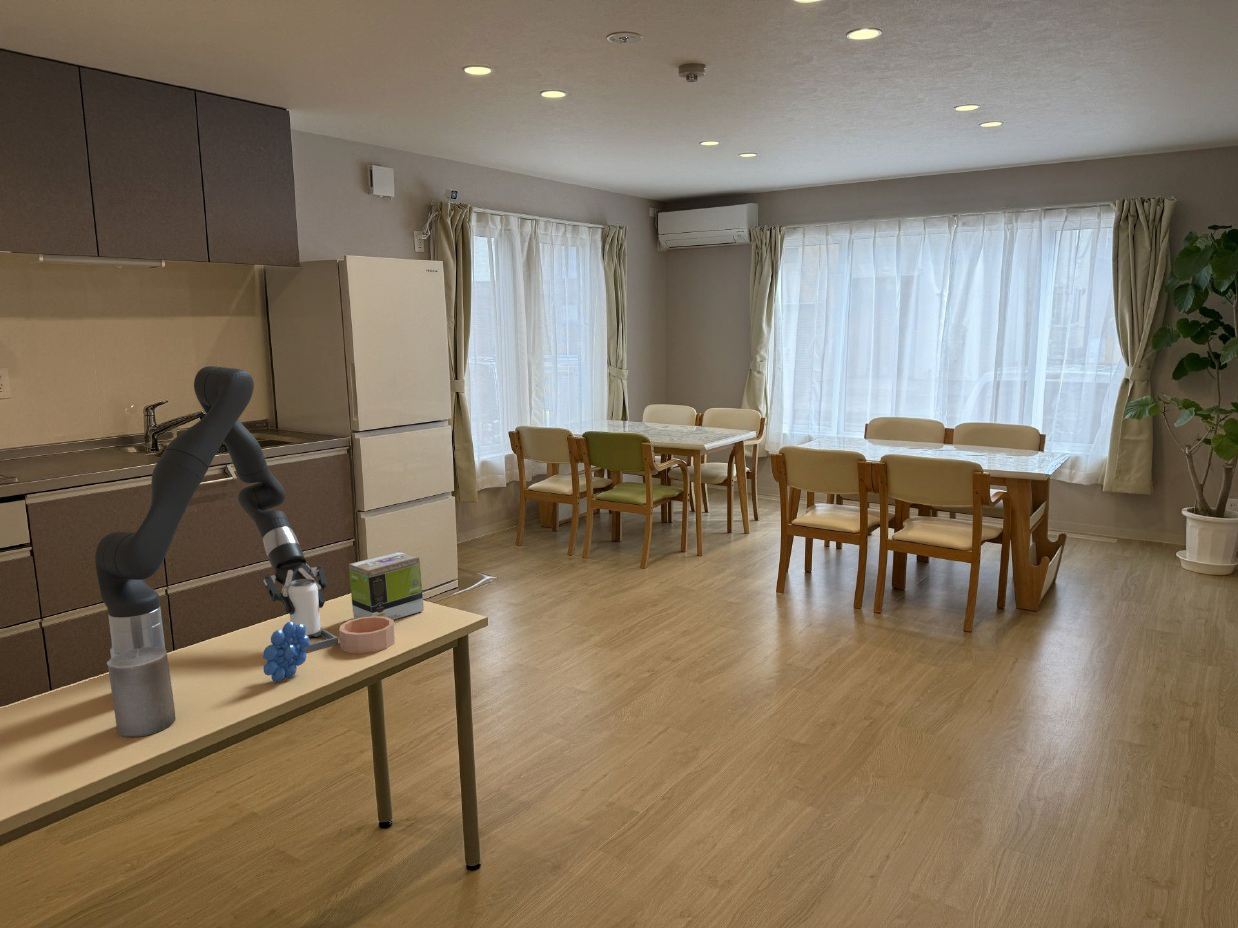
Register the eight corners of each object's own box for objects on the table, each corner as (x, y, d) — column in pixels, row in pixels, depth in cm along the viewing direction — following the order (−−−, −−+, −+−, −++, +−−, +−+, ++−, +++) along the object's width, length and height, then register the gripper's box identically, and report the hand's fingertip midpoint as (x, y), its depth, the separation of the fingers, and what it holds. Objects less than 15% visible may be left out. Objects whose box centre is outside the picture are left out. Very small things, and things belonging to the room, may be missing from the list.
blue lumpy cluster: (297, 664, 185) (292, 612, 183) (319, 669, 182) (314, 616, 180) (251, 684, 175) (246, 629, 173) (274, 690, 172) (269, 634, 170)
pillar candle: (167, 708, 164) (158, 635, 162) (182, 725, 157) (172, 649, 155) (111, 726, 158) (100, 650, 155) (124, 743, 151) (112, 664, 148)
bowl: (355, 657, 188) (354, 638, 188) (332, 643, 197) (331, 625, 196) (404, 643, 196) (402, 624, 196) (379, 630, 205) (378, 612, 204)
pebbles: (297, 654, 191) (296, 644, 191) (281, 643, 198) (281, 634, 197) (335, 643, 197) (334, 633, 197) (319, 633, 204) (318, 624, 203)
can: (301, 638, 192) (297, 588, 190) (285, 632, 196) (281, 583, 194) (326, 630, 197) (322, 581, 196) (310, 625, 201) (306, 576, 199)
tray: (296, 655, 190) (295, 648, 190) (279, 643, 198) (278, 637, 197) (338, 643, 197) (337, 637, 197) (320, 632, 204) (320, 626, 204)
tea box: (403, 603, 225) (400, 550, 223) (424, 611, 218) (421, 556, 216) (351, 618, 215) (347, 562, 212) (372, 627, 208) (368, 569, 205)
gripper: (256, 546, 194) (279, 607, 187) (317, 536, 204) (341, 594, 197) (249, 564, 199) (272, 625, 192) (309, 553, 209) (333, 610, 202)
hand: (307, 609), depth 195 cm, fingers closed on can, 6 cm apart
